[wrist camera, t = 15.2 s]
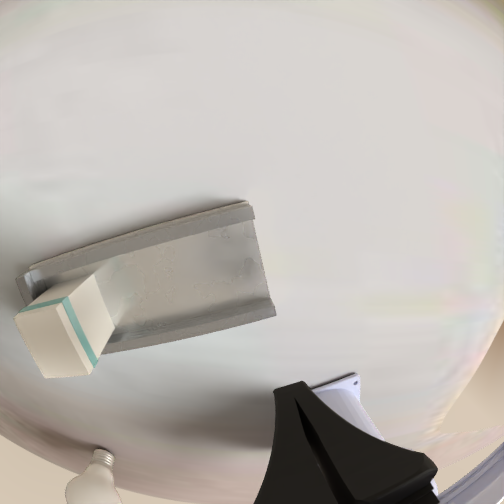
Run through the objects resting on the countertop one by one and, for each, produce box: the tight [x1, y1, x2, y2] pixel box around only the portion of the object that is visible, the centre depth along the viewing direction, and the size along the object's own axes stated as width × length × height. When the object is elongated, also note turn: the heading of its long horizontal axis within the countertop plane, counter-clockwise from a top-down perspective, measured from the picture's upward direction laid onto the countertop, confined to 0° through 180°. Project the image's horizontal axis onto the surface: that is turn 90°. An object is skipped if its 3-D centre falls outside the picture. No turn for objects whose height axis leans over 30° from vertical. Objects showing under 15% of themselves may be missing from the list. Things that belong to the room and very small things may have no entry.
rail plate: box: [16, 201, 277, 355], centre depth 18 cm, size 8×18×3 cm, turn 103°
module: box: [13, 274, 115, 378], centre depth 16 cm, size 5×4×6 cm
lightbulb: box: [65, 449, 122, 504], centre depth 18 cm, size 6×6×11 cm
